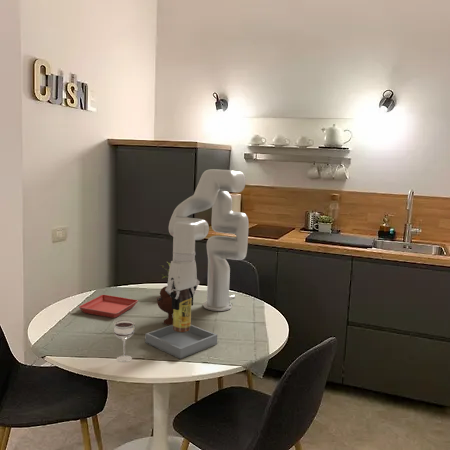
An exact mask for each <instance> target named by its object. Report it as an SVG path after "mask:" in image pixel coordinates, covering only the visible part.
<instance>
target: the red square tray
mask: <svg viewBox="0 0 450 450" xmlns="http://www.w3.org/2000/svg"><path fill="white" fill-rule="evenodd" d="M138 302H139V300H138V299H134V298H126V297H121V296H115V295H107V294H101V295H99V296H96V297H95V298H93V299H91V300H89V301H87V302H85V303H84V304H83V303H82V304H81V305H79V306H78V308H79V310H81V312H83V313H85V314H89V315H90V314H91V315H96V316H101V317H106V318H112V319H116V318H118V317H119V316H121V315H122V314H124V313H126V312H127V311H129V310H131V309H133V307H134V306H135V305H136V304H137V303H138Z"/></svg>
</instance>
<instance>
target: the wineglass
mask: <svg viewBox="0 0 450 450" xmlns="http://www.w3.org/2000/svg"><path fill="white" fill-rule="evenodd" d="M113 325H114V328H113V334H114V336H115V337H117V339H119V340H121V341H122V347H123V350H122V351H123V353H122V355H120V356H117V357H116V361H117V362H121V363H126V362H130V361H131V360H132V359H133V357H132V356H130V355H128V354H127V355H125V354H126V341H127V340H128V339H131V337H132V336H134V335H135V330H136V328H135V325H136V323H135V322H134V321H133V320H129V319H121V320H116V321H115V322H114V324H113Z"/></svg>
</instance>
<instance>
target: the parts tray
mask: <svg viewBox="0 0 450 450" xmlns="http://www.w3.org/2000/svg"><path fill="white" fill-rule="evenodd" d="M144 335H145V338H144V339H145V340H144V343H145V344H147V345H149V346H151V347H153V348H155V349H158V350H159V351H162V352H165V353H166V354H169V355H171V356H172V357H175V358H177V359H179V360H182V359H184V358H186V357H189V356H191V355H194V354H196V353H198V352H201V351H203V350H206V349H208V348H211V347H212V346H215V345H218V334H216V333H214V332H211V331H210V330H209V331H208V330H206V329H205V328H202V327H200V326H199V327H198V326H197V325H193V324H191V326H190V329H189V331H187V332H176V331H174V330H173V325H166V326H165V327H161V328H157V329H155V330H151V331H150V332H146V333H145V334H144Z"/></svg>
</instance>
